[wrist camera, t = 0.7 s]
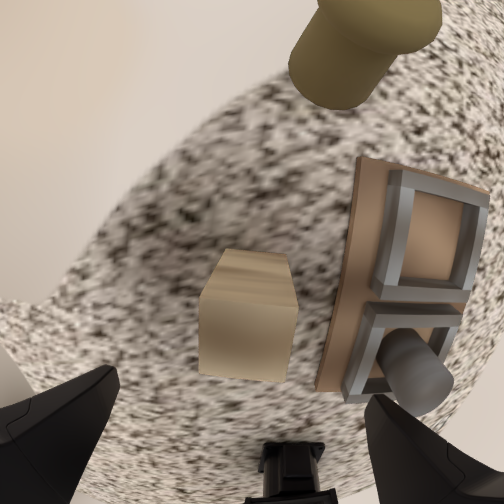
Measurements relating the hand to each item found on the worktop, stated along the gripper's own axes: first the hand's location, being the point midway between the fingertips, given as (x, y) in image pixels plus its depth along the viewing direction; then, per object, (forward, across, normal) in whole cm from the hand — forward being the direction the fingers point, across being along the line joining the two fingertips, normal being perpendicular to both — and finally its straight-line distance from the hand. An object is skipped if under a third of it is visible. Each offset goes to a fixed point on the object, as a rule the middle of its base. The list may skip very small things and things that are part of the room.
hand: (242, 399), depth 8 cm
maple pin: (+11, 0, 0) cm, 11 cm away
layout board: (+11, -12, 0) cm, 16 cm away
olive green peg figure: (+12, -4, -15) cm, 19 cm away
